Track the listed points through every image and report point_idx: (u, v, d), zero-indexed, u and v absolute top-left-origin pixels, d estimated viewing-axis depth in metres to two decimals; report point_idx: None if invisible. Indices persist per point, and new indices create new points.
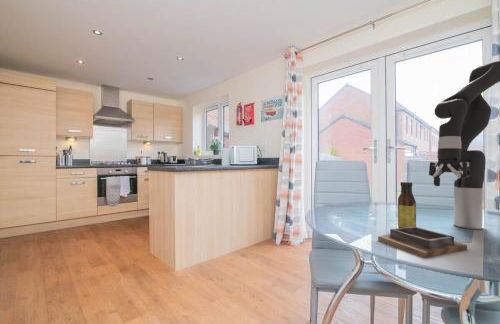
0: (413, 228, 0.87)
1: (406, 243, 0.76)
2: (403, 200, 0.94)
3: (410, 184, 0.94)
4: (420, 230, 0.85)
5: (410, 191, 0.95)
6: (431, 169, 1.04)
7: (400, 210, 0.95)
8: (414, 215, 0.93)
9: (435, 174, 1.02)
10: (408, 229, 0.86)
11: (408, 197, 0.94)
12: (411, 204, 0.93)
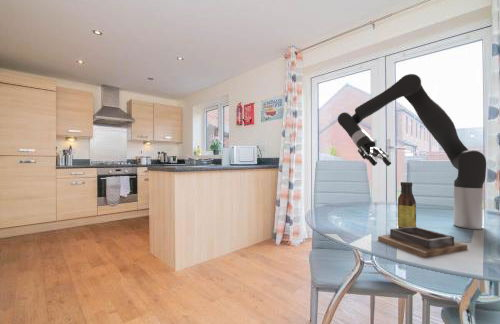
0: (413, 228, 0.87)
1: (406, 243, 0.76)
2: (403, 200, 0.94)
3: (410, 184, 0.94)
4: (420, 230, 0.85)
5: (410, 191, 0.95)
6: (381, 155, 1.14)
7: (400, 210, 0.95)
8: (414, 215, 0.93)
9: None
10: (408, 229, 0.86)
11: (408, 197, 0.94)
12: (411, 204, 0.93)
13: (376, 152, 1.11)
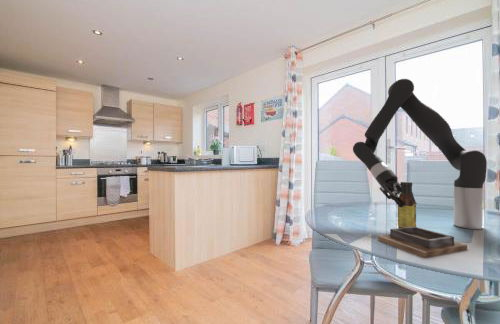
0: (413, 228, 0.87)
1: (406, 243, 0.76)
2: (403, 200, 0.94)
3: (410, 184, 0.94)
4: (420, 230, 0.85)
5: (410, 191, 0.94)
6: None
7: (400, 210, 0.95)
8: (414, 215, 0.93)
9: None
10: (408, 229, 0.86)
11: (408, 197, 0.94)
12: (411, 204, 0.93)
13: (398, 189, 1.00)
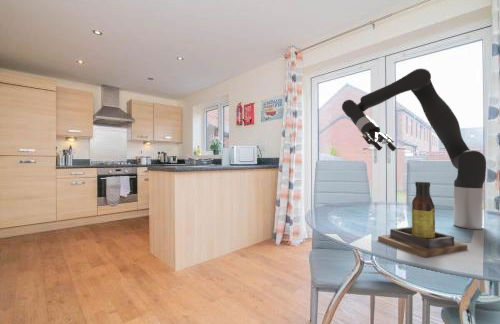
0: None
1: (406, 243, 0.76)
2: (420, 203, 0.78)
3: (428, 184, 0.78)
4: None
5: (427, 193, 0.78)
6: (386, 141, 1.14)
7: (415, 216, 0.79)
8: (433, 222, 0.77)
9: None
10: (408, 229, 0.86)
11: (425, 200, 0.77)
12: (429, 208, 0.77)
13: (381, 137, 1.11)
